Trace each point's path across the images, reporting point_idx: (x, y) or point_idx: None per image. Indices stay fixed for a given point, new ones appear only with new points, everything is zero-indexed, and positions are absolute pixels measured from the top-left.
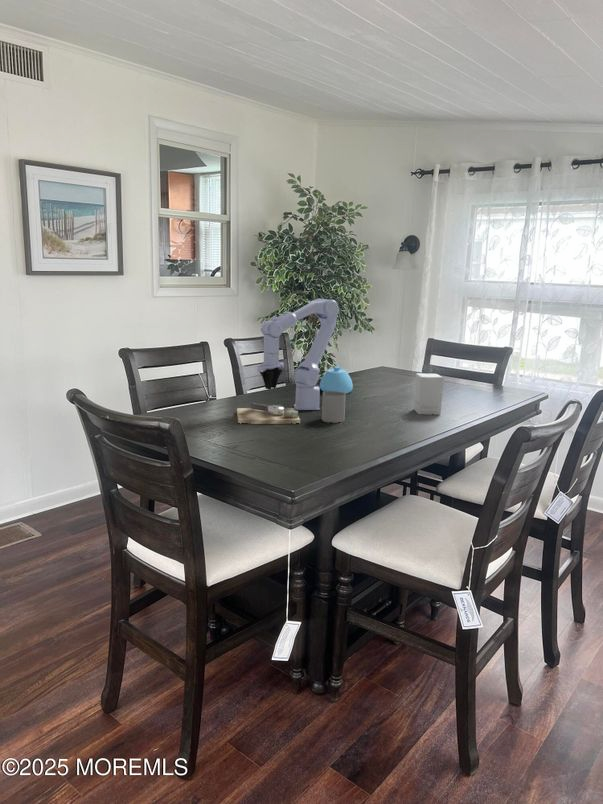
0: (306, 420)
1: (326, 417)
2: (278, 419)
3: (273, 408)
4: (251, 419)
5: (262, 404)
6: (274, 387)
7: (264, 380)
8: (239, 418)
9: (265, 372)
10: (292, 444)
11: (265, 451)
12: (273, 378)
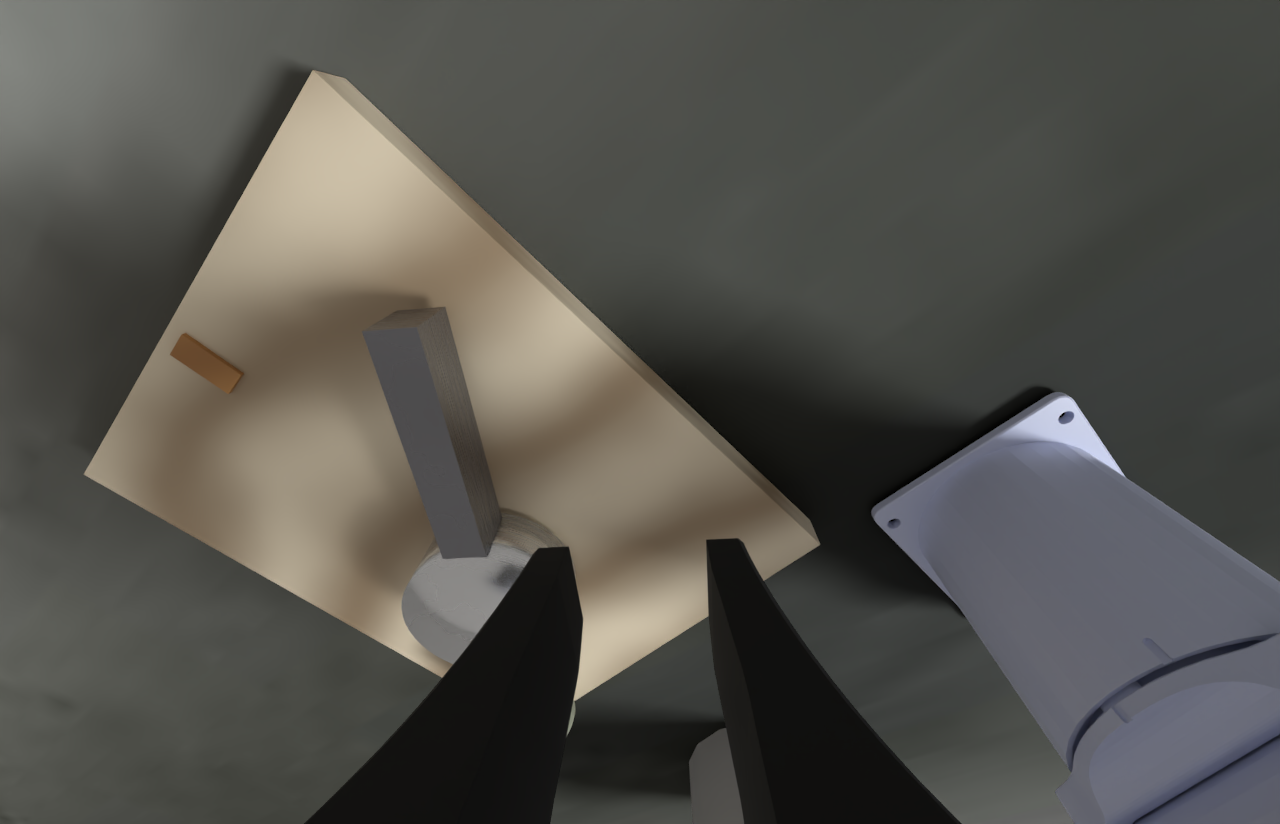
0: (634, 688)
1: (691, 793)
2: (407, 652)
3: (428, 630)
4: (208, 534)
5: (451, 471)
6: (710, 614)
7: (441, 708)
8: (115, 446)
9: None
10: (234, 817)
11: (61, 801)
12: (746, 790)
